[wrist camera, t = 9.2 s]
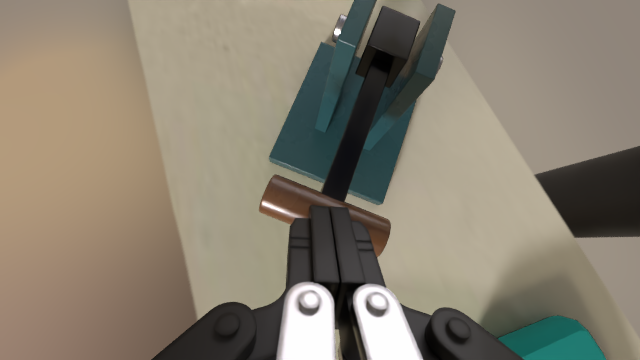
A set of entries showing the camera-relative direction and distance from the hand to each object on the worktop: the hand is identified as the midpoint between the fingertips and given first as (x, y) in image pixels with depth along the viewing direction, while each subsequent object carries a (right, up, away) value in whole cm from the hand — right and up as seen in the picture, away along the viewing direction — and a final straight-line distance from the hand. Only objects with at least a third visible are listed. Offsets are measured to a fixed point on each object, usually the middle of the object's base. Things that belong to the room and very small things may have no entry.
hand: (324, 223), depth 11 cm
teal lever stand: (+2, +7, +14) cm, 16 cm away
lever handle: (+2, +4, +4) cm, 6 cm away
